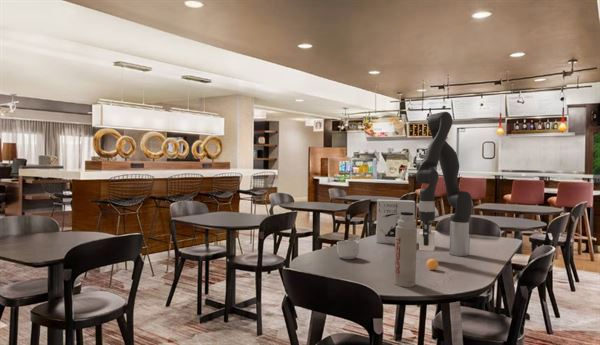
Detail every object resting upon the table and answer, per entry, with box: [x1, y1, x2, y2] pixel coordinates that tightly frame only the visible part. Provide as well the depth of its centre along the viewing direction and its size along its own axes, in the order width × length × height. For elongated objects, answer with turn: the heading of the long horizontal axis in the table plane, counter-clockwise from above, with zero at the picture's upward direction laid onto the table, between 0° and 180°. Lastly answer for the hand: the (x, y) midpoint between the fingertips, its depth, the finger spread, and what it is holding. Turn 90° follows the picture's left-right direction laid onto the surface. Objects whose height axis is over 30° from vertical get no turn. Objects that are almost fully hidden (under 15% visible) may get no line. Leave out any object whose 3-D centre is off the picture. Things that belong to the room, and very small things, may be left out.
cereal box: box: [375, 199, 416, 245], centre depth 268 cm, size 22×8×25 cm, turn 81°
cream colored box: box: [418, 231, 436, 252], centre depth 221 cm, size 7×7×8 cm
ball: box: [426, 258, 439, 271], centre depth 201 cm, size 5×5×5 cm
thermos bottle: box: [393, 212, 418, 288], centre depth 176 cm, size 8×8×28 cm
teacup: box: [336, 239, 360, 260], centre depth 223 cm, size 14×11×8 cm
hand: (426, 244), depth 221 cm, fingers closed on cream colored box, 7 cm apart
